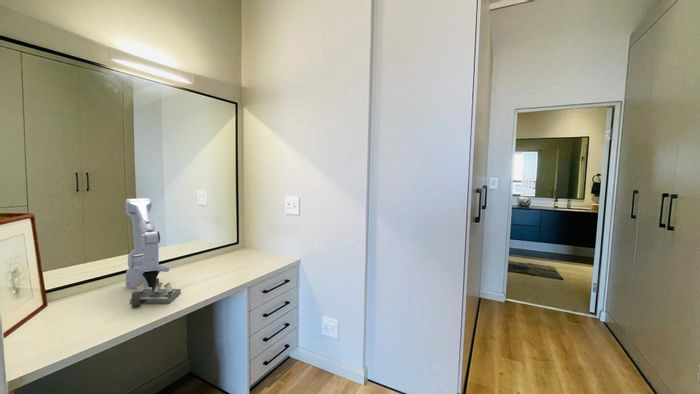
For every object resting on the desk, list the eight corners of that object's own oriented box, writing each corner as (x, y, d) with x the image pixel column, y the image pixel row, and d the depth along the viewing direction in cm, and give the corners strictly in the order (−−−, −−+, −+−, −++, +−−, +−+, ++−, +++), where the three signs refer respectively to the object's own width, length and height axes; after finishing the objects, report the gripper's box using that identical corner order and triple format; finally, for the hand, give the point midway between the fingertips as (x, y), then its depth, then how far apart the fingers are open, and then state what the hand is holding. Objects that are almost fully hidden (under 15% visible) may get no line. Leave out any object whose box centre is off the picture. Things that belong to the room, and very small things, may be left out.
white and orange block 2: (152, 293, 131) (156, 284, 130) (156, 290, 133) (160, 282, 133) (155, 294, 131) (159, 285, 131) (159, 291, 134) (162, 283, 133)
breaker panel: (130, 303, 126) (129, 298, 126) (145, 293, 137) (144, 287, 137) (168, 303, 128) (168, 298, 128) (180, 293, 139) (180, 287, 138)
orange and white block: (167, 294, 131) (163, 285, 131) (170, 291, 134) (167, 283, 134) (170, 293, 131) (166, 284, 131) (173, 290, 134) (169, 282, 134)
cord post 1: (130, 307, 123) (129, 294, 122) (134, 304, 126) (134, 291, 125) (137, 307, 123) (137, 294, 123) (142, 304, 126) (141, 291, 125)
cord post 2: (150, 292, 138) (150, 280, 137) (154, 289, 141) (153, 278, 140) (157, 292, 138) (156, 280, 137) (160, 289, 141) (160, 278, 140)
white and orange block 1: (139, 294, 130) (135, 285, 129) (143, 291, 133) (139, 283, 132) (142, 293, 130) (138, 284, 129) (145, 290, 133) (141, 282, 132)
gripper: (127, 260, 125) (128, 290, 127) (163, 260, 127) (163, 290, 128) (137, 255, 132) (138, 283, 134) (171, 255, 134) (171, 283, 135)
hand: (151, 286), depth 132 cm, fingers closed
